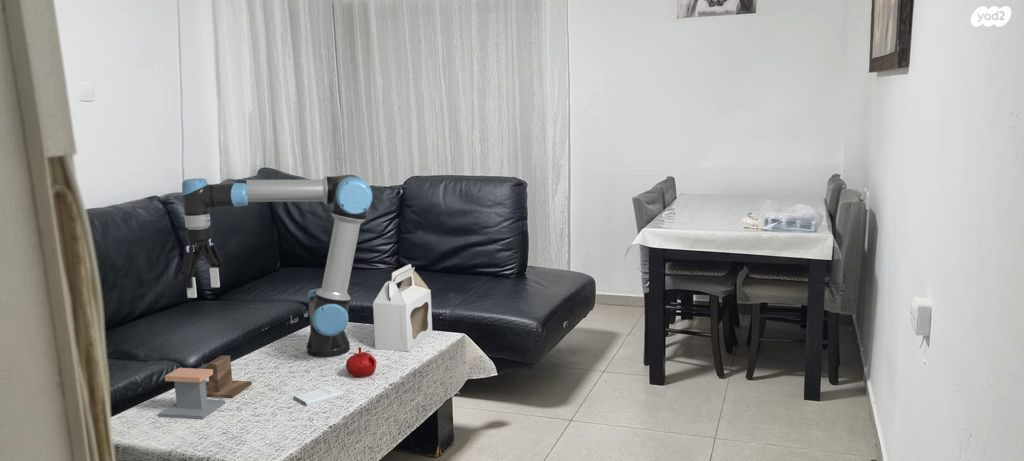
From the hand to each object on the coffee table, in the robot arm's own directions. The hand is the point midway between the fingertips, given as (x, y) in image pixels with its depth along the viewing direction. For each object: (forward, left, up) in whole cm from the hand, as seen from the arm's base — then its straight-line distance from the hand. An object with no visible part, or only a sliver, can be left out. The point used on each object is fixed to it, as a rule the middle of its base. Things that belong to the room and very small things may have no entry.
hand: (204, 292), depth 256 cm
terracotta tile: (-10, +27, -19) cm, 34 cm away
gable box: (-52, -44, -29) cm, 74 cm away
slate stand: (-10, +27, -29) cm, 40 cm away
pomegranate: (-49, -8, -29) cm, 57 cm away
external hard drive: (-43, +13, -29) cm, 54 cm away
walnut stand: (-10, +11, -29) cm, 32 cm away
